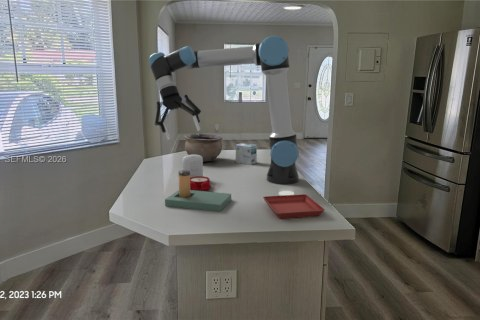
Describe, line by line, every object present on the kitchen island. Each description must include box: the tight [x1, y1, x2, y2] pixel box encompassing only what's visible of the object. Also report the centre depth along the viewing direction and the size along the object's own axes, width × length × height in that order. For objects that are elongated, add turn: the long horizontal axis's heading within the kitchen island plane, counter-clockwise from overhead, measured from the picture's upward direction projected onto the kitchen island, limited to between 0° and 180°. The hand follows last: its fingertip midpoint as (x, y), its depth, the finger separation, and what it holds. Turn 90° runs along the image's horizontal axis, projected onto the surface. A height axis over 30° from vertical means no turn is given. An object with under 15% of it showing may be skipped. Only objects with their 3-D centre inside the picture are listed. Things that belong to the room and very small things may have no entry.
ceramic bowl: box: [184, 132, 224, 163], centre depth 217 cm, size 22×22×15 cm
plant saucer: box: [262, 193, 326, 219], centre depth 137 cm, size 18×18×3 cm
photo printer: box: [181, 154, 204, 178], centre depth 175 cm, size 10×4×12 cm, turn 123°
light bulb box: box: [235, 142, 258, 166], centre depth 213 cm, size 11×7×11 cm, turn 58°
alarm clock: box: [190, 175, 212, 192], centre depth 163 cm, size 10×6×15 cm
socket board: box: [164, 189, 232, 212], centre depth 144 cm, size 22×14×2 cm, turn 75°
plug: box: [177, 169, 190, 198], centre depth 145 cm, size 4×4×12 cm
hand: (184, 134), depth 156 cm, fingers open, 13 cm apart
